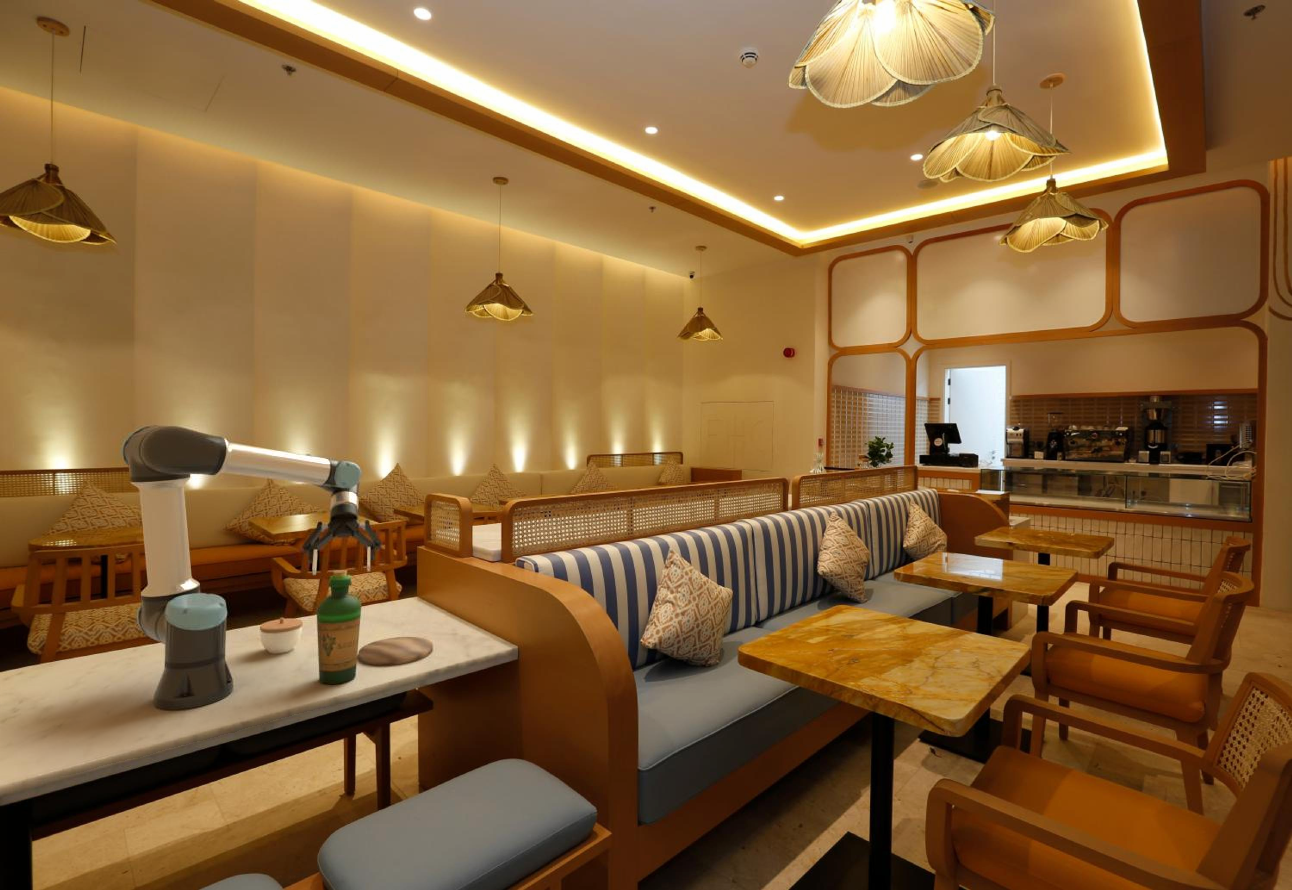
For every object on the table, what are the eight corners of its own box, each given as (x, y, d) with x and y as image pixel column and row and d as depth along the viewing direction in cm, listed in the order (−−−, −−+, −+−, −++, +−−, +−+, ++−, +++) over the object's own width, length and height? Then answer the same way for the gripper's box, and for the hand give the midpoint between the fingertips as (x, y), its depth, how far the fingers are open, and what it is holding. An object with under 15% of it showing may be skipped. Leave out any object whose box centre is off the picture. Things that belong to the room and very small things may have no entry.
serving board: (394, 670, 163) (394, 664, 163) (342, 657, 171) (342, 652, 171) (447, 648, 181) (447, 643, 181) (398, 637, 189) (398, 633, 189)
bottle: (319, 690, 148) (321, 577, 148) (310, 677, 157) (313, 570, 157) (365, 680, 155) (367, 572, 155) (354, 668, 163) (357, 565, 163)
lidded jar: (287, 657, 171) (288, 624, 171) (250, 655, 171) (251, 622, 171) (309, 644, 181) (310, 613, 181) (274, 643, 182) (275, 612, 182)
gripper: (389, 516, 189) (389, 574, 175) (297, 519, 178) (291, 581, 165) (389, 501, 184) (390, 559, 170) (296, 503, 173) (289, 565, 160)
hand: (341, 570), depth 167 cm, fingers open, 13 cm apart
